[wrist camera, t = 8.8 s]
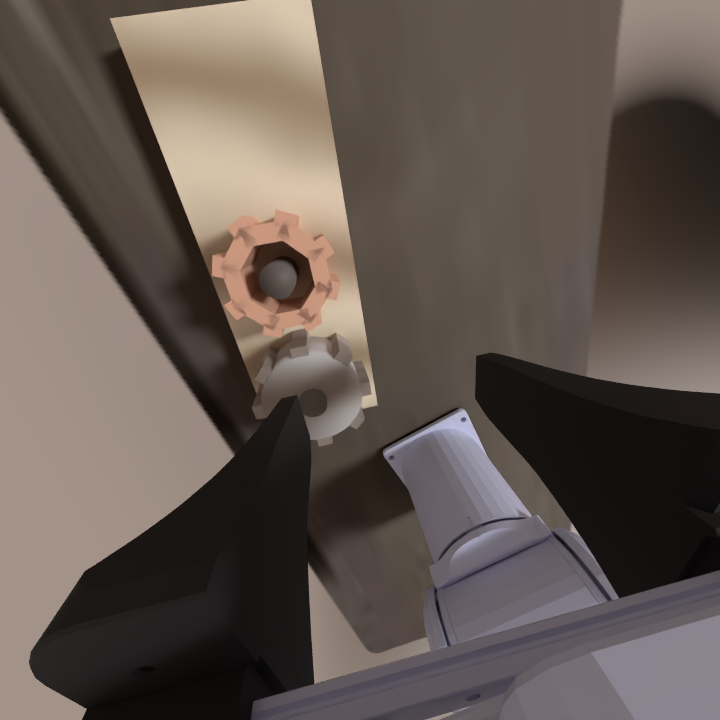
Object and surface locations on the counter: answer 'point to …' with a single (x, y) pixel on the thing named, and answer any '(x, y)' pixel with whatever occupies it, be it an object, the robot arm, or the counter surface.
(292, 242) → the gear
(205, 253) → the board
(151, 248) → the counter surface
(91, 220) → the counter surface
